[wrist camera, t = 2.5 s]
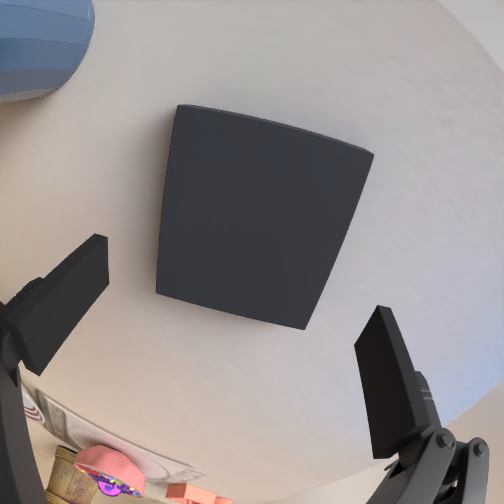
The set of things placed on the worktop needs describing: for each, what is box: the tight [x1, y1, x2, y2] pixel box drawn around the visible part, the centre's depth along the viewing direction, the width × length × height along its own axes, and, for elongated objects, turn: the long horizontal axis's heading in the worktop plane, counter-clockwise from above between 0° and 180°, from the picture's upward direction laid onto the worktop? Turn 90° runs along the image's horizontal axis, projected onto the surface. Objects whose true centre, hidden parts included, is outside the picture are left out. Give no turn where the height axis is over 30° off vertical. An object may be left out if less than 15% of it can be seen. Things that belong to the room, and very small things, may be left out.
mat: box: [156, 105, 374, 330], centre depth 20 cm, size 14×12×2 cm
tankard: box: [45, 447, 98, 504], centre depth 53 cm, size 18×24×25 cm
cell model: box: [73, 445, 146, 498], centre depth 45 cm, size 17×20×11 cm
